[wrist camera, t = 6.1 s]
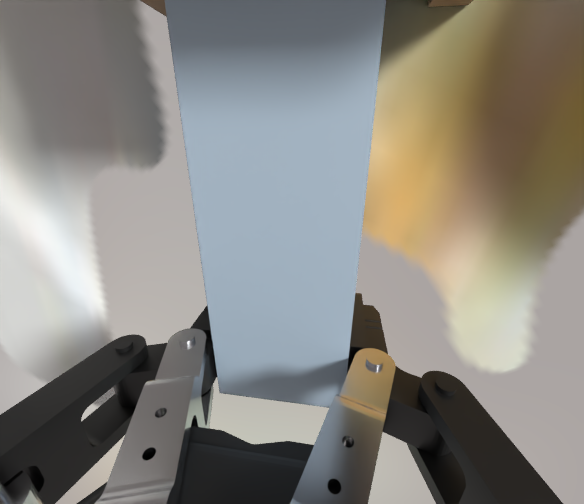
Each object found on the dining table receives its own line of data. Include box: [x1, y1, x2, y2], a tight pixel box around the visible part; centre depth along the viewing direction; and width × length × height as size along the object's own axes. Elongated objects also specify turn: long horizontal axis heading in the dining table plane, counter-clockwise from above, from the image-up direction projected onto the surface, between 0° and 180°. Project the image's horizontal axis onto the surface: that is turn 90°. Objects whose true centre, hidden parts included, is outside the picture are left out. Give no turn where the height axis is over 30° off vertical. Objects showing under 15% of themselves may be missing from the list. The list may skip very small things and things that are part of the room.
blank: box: [165, 0, 386, 408], centre depth 10 cm, size 4×14×5 cm, turn 0°
